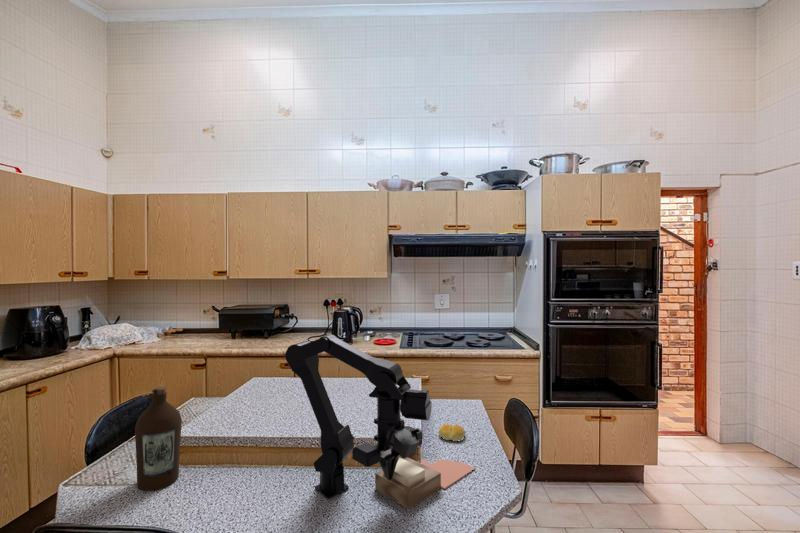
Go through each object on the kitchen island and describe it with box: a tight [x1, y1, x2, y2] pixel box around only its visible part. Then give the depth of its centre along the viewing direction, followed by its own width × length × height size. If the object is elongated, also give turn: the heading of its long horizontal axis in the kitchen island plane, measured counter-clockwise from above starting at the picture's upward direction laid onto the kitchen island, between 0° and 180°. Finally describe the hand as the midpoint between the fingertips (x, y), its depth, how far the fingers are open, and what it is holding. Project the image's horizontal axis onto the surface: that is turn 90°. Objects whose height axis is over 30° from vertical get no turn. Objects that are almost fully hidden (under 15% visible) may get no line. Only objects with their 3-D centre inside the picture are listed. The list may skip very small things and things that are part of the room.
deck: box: [374, 456, 442, 510], centre depth 97 cm, size 12×12×4 cm
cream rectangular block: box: [383, 457, 425, 487], centre depth 96 cm, size 9×6×2 cm, turn 45°
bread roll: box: [438, 423, 467, 441], centre depth 128 cm, size 8×9×4 cm
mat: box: [421, 457, 476, 490], centre depth 106 cm, size 14×14×1 cm
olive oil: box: [134, 386, 183, 492], centre depth 101 cm, size 11×11×25 cm
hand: (389, 479), depth 92 cm, fingers closed
